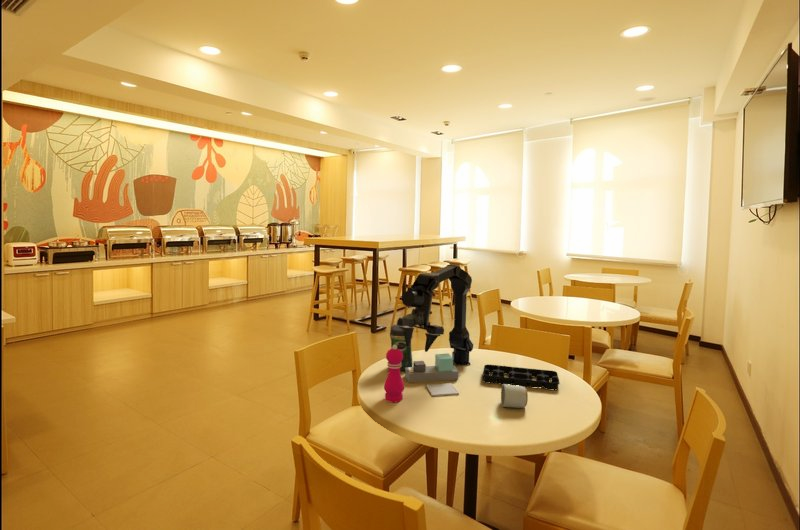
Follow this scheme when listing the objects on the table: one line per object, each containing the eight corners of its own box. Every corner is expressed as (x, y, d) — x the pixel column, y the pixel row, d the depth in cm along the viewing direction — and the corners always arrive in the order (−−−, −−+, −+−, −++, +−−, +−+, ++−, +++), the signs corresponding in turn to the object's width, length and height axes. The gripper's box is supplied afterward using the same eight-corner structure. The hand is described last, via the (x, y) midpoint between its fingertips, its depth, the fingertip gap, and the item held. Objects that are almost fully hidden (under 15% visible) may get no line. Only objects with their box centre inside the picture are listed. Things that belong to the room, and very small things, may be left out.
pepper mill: (389, 404, 159) (390, 349, 155) (380, 396, 165) (380, 343, 162) (407, 400, 162) (408, 346, 159) (398, 392, 168) (399, 340, 165)
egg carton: (478, 372, 190) (478, 363, 190) (551, 373, 189) (551, 365, 189) (485, 390, 173) (485, 380, 172) (565, 392, 172) (566, 382, 171)
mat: (451, 384, 176) (451, 383, 176) (458, 394, 167) (458, 393, 167) (426, 386, 174) (426, 384, 174) (432, 396, 166) (432, 394, 165)
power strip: (452, 372, 188) (453, 357, 187) (458, 379, 181) (458, 364, 180) (404, 375, 184) (405, 360, 183) (408, 382, 177) (408, 366, 176)
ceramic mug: (527, 411, 155) (529, 390, 154) (503, 410, 156) (504, 389, 155) (521, 398, 166) (522, 378, 165) (498, 397, 166) (499, 377, 165)
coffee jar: (412, 364, 196) (413, 322, 193) (412, 372, 188) (413, 328, 185) (390, 364, 196) (390, 322, 193) (388, 371, 188) (389, 327, 186)
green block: (448, 369, 186) (448, 353, 185) (452, 375, 181) (453, 358, 180) (434, 370, 185) (435, 354, 184) (438, 376, 180) (439, 359, 179)
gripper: (390, 302, 172) (383, 343, 171) (429, 310, 159) (422, 355, 159) (409, 304, 180) (403, 343, 179) (447, 312, 167) (441, 354, 167)
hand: (416, 348), depth 171 cm, fingers open, 9 cm apart
